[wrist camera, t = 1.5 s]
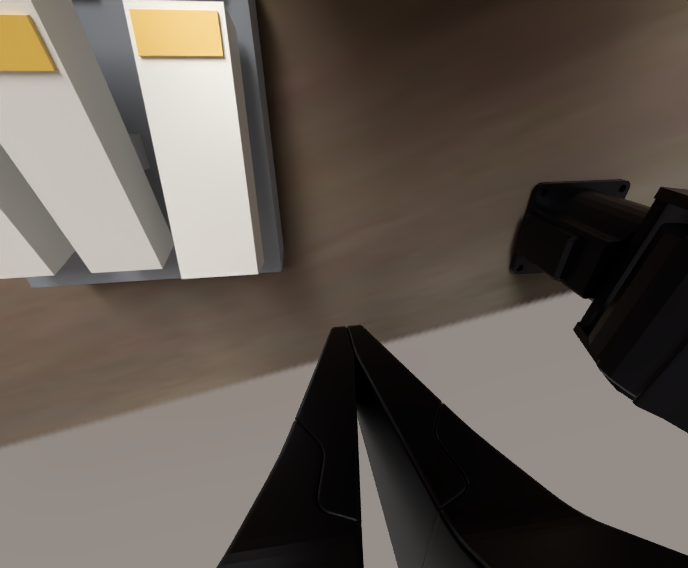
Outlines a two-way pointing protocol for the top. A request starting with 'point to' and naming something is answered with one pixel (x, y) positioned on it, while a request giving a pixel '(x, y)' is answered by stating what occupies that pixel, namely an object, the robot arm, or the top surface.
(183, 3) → the block
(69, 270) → the console
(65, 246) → the block
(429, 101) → the top surface
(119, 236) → the rocker middle
